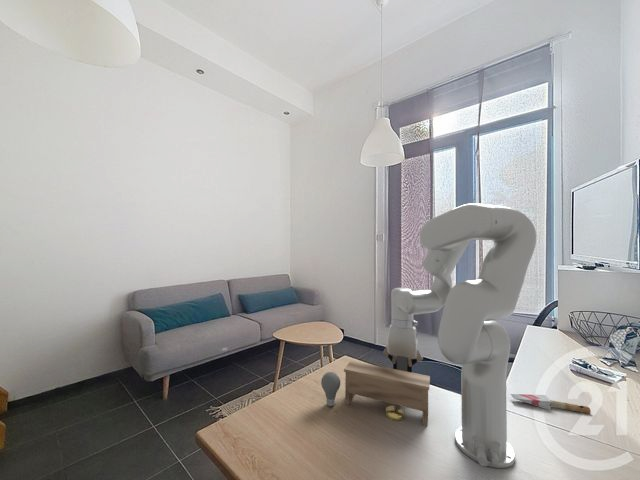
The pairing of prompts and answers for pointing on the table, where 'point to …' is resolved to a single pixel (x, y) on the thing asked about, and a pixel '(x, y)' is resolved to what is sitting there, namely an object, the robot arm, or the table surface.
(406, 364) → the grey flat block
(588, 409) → the paintbrush
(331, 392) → the light bulb
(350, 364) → the wooden bench
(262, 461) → the table surface
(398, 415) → the token
